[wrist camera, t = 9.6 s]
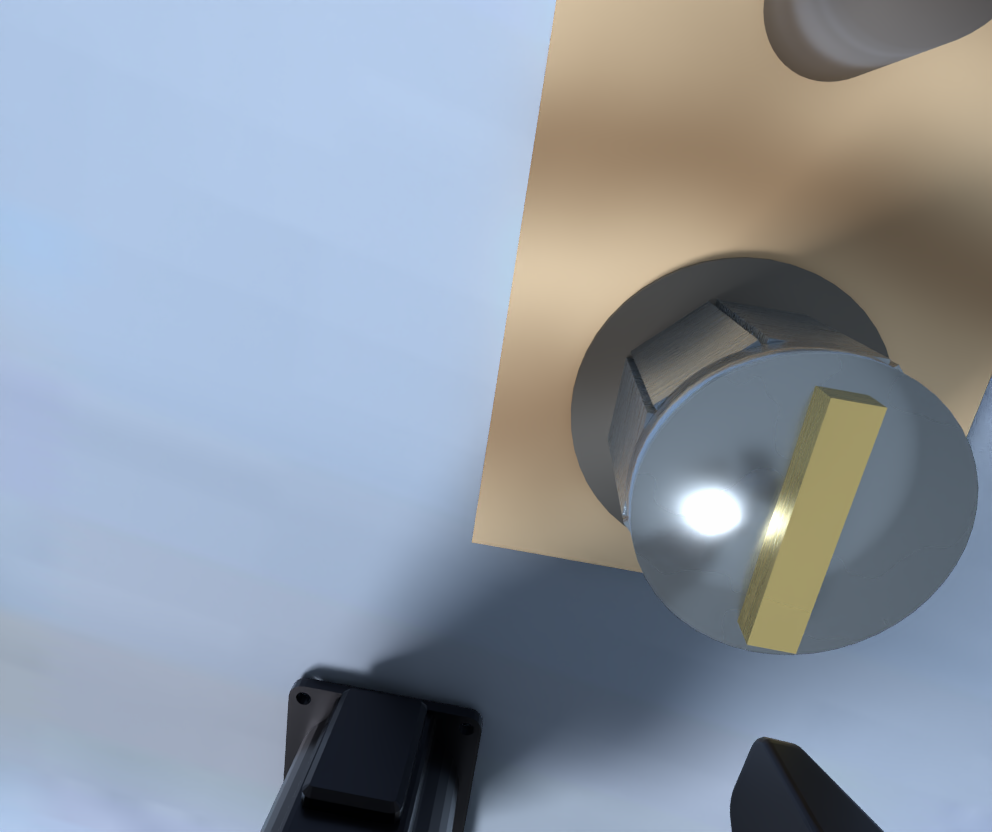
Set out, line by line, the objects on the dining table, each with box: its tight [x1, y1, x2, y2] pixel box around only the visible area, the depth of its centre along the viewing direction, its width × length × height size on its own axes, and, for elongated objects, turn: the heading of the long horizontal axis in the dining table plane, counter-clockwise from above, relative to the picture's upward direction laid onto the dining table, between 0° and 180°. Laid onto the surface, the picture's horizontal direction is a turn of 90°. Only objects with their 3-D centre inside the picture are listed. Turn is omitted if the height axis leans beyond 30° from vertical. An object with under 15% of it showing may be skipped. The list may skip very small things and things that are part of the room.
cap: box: [608, 299, 978, 655], centre depth 15 cm, size 6×6×6 cm
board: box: [472, 0, 992, 573], centre depth 15 cm, size 20×12×5 cm, turn 171°
